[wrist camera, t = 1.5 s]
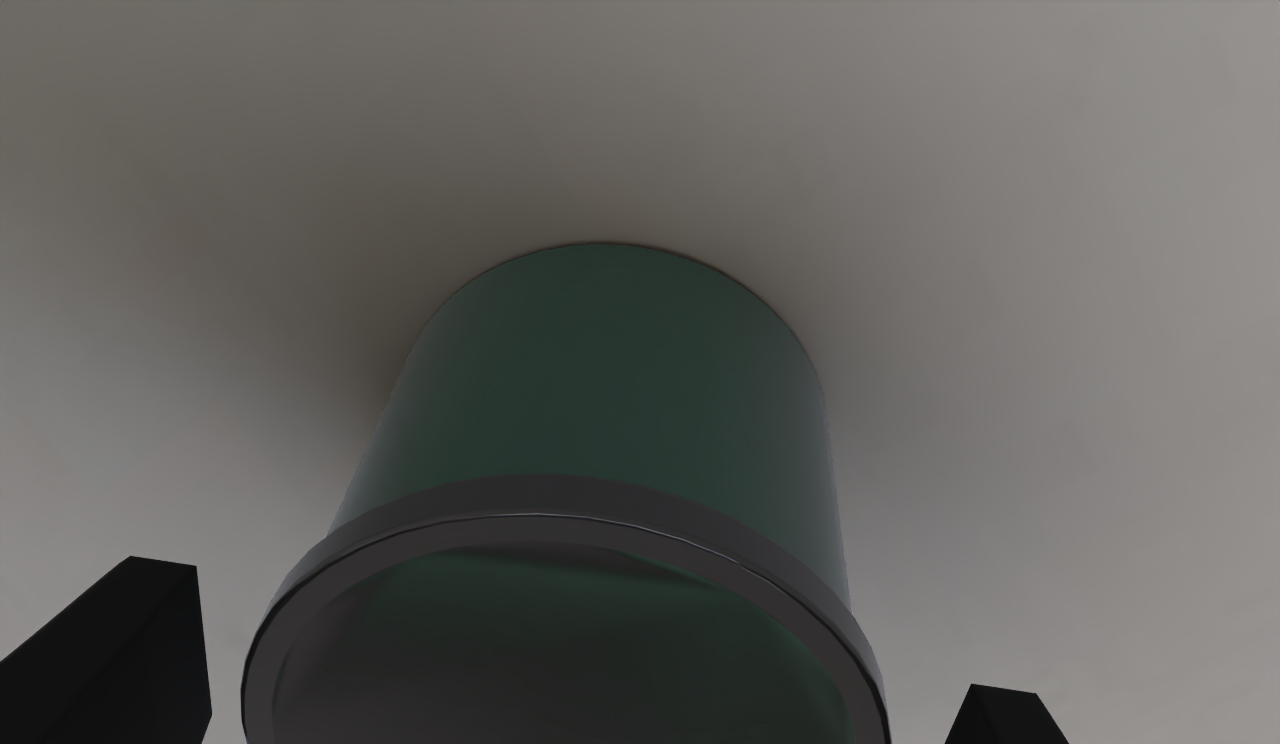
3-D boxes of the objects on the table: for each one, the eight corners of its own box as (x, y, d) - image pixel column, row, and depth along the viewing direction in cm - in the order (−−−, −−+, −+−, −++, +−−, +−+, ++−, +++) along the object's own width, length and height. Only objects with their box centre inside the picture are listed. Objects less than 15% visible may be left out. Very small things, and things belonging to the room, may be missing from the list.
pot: (339, 521, 15) (192, 850, 11) (455, 149, 12) (311, 409, 8) (731, 649, 16) (731, 1000, 12) (929, 329, 13) (1024, 652, 9)
